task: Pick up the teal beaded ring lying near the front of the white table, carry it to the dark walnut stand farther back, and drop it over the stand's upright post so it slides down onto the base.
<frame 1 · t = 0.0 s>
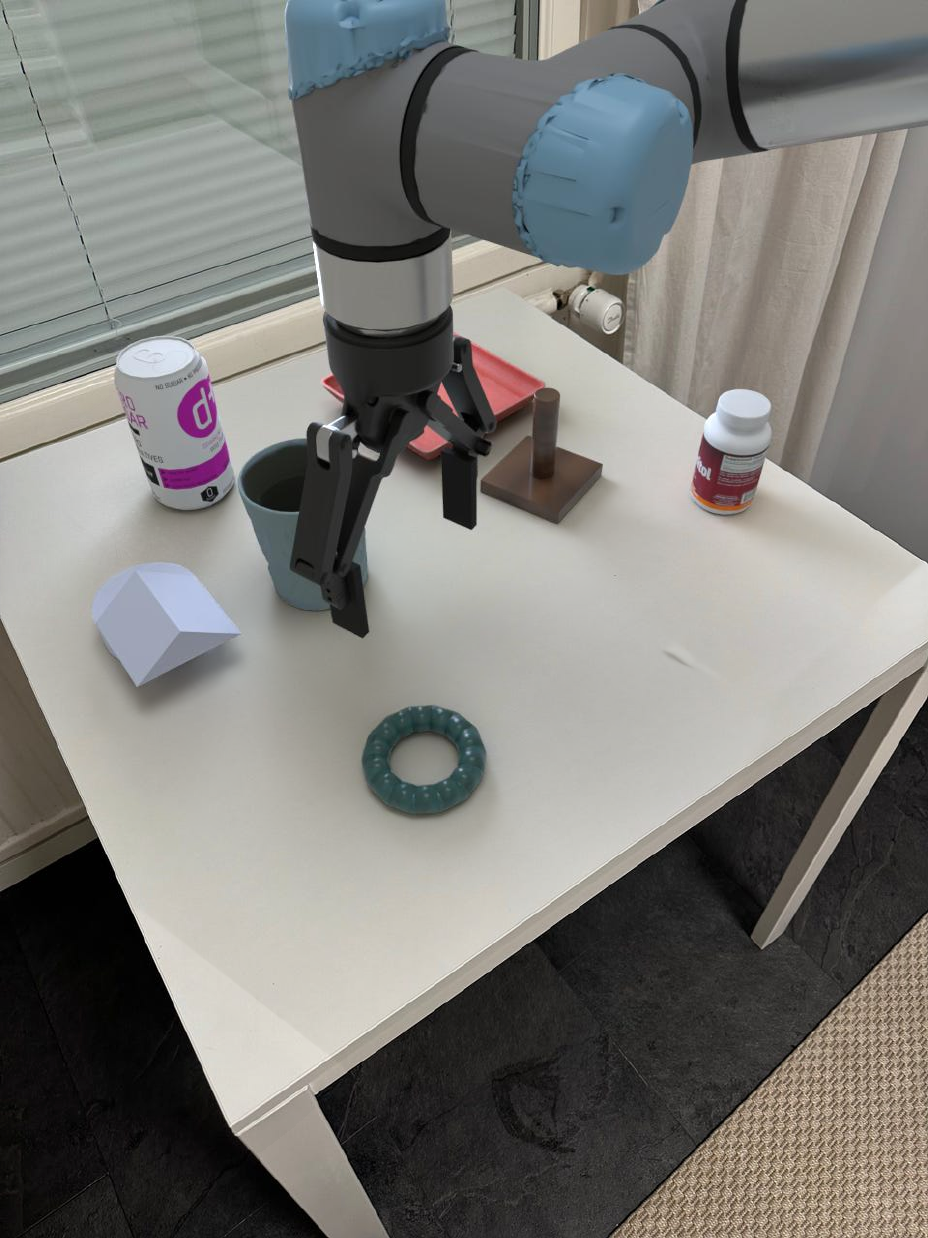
hand: (408, 571, 67), 11 cm above the table, tool pointing down, fingers open, 13 cm apart
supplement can: (195, 489, 91), on the table
wedge on round base: (167, 640, 77), on the table
stand: (541, 483, 90), on the table
blue-grey embossed cup: (318, 579, 82), on the table
teal beaded ring: (424, 757, 67), point 1 cm above the table
plant saucer: (434, 408, 100), on the table
pill bottle: (720, 498, 89), on the table
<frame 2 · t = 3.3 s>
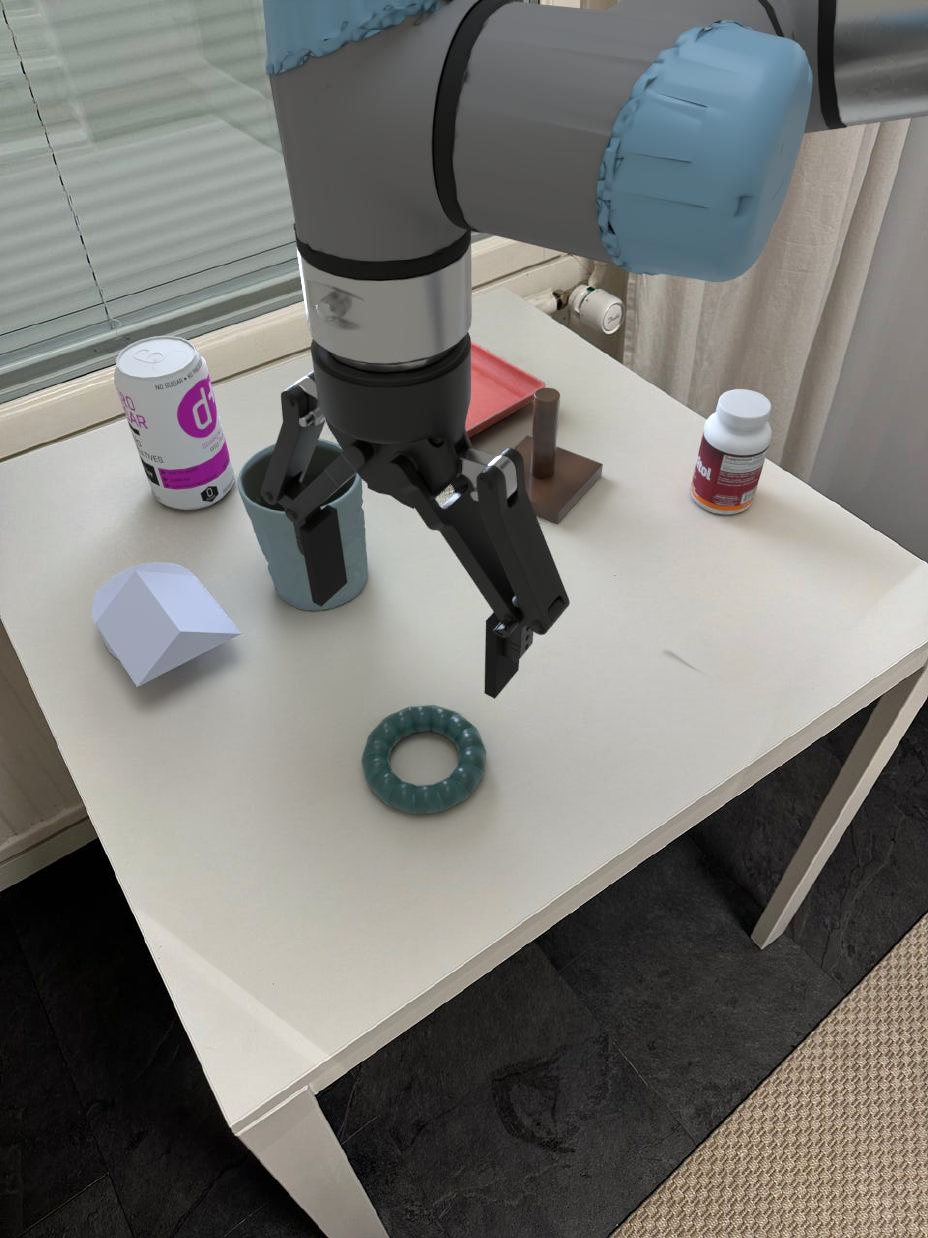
hand: (412, 635, 57), 15 cm above the table, tool pointing down, fingers open, 13 cm apart
nothing on the table moved.
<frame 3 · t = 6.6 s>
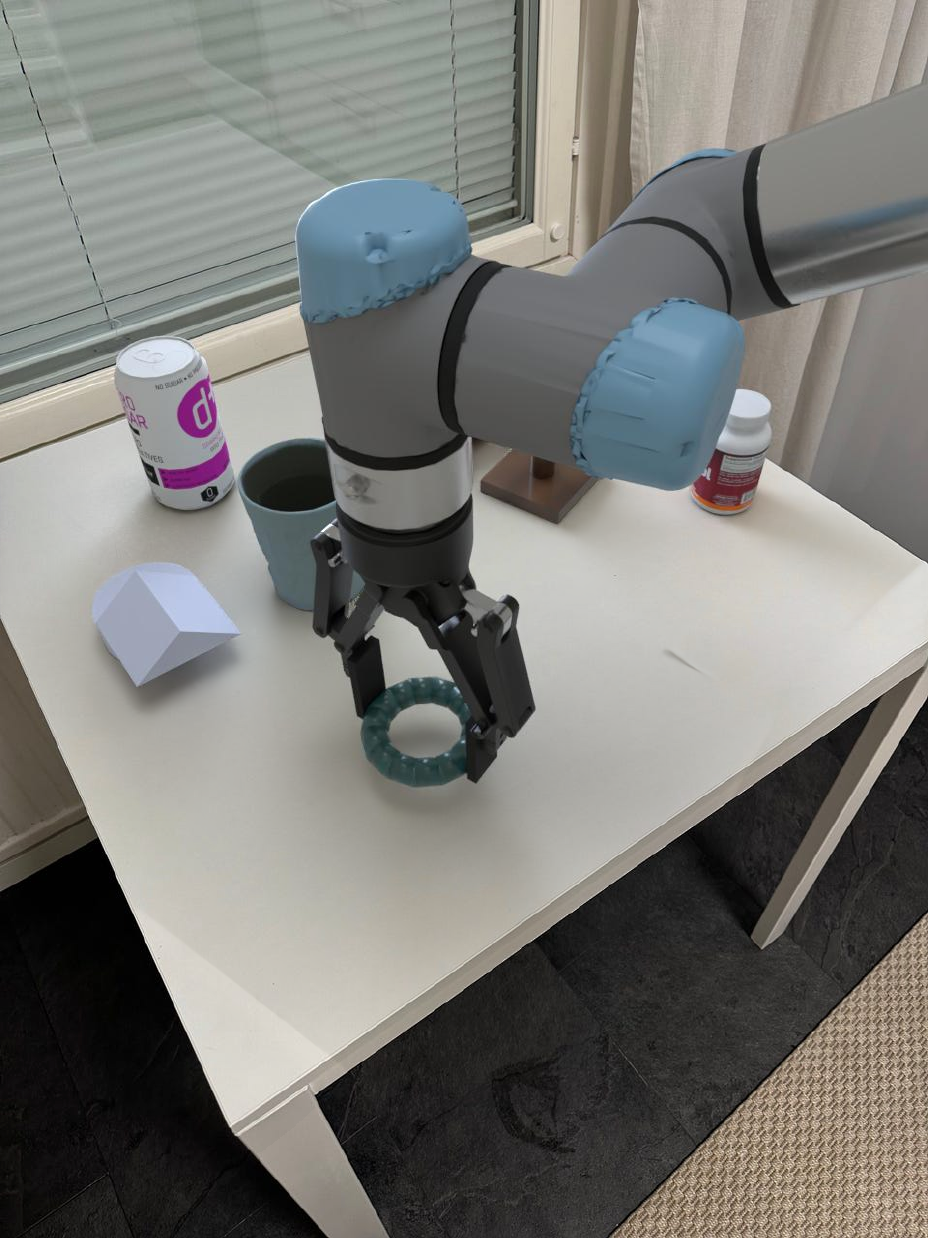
hand: (425, 735, 65), 4 cm above the table, tool pointing down, fingers closed on teal beaded ring, 9 cm apart
teal beaded ring: (425, 729, 64), point 5 cm above the table, touching gripper
everything else where it was.
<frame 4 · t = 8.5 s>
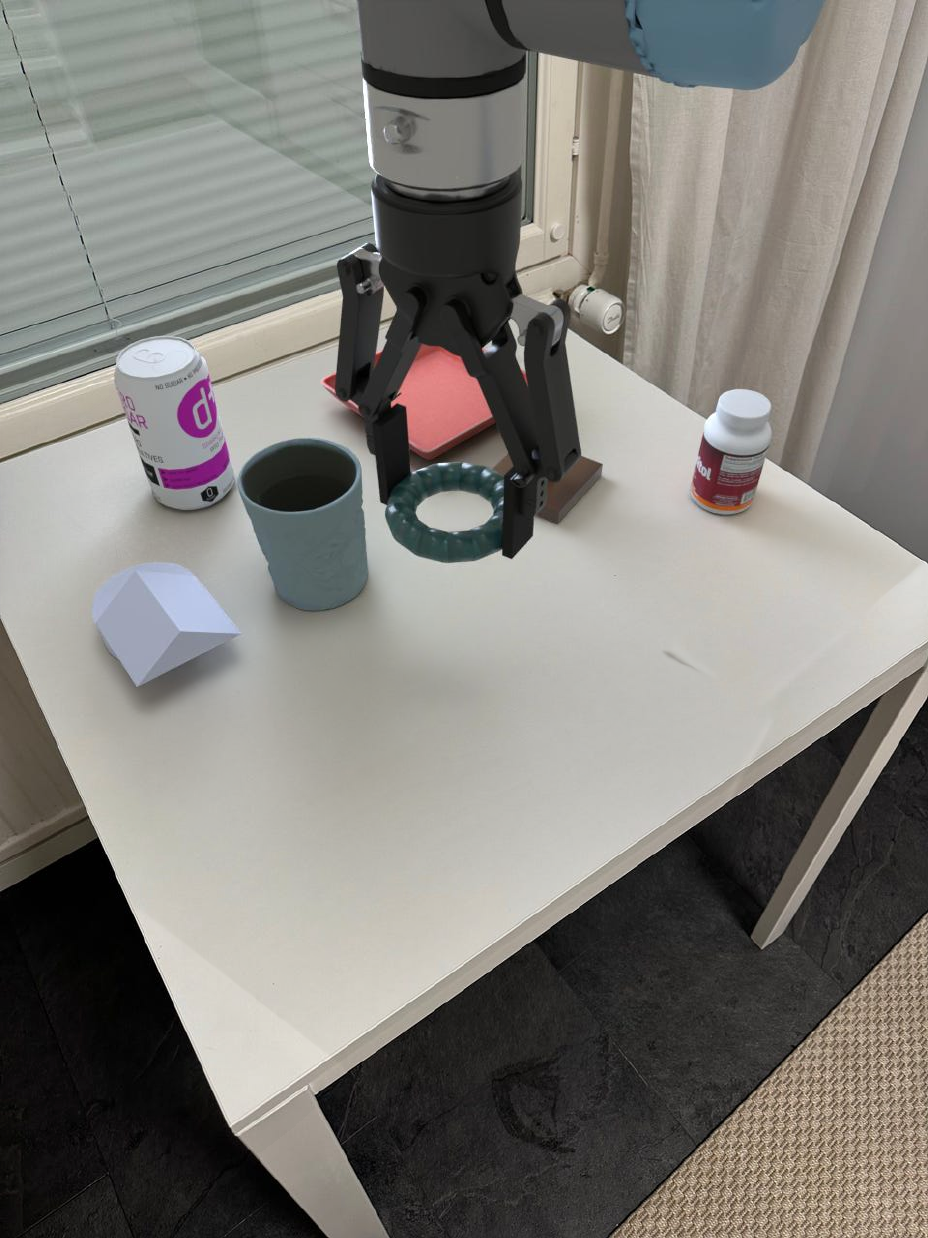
hand: (454, 518, 60), 18 cm above the table, tool pointing down, fingers closed on teal beaded ring, 9 cm apart
teal beaded ring: (454, 510, 60), point 18 cm above the table, touching gripper
everything else where it was.
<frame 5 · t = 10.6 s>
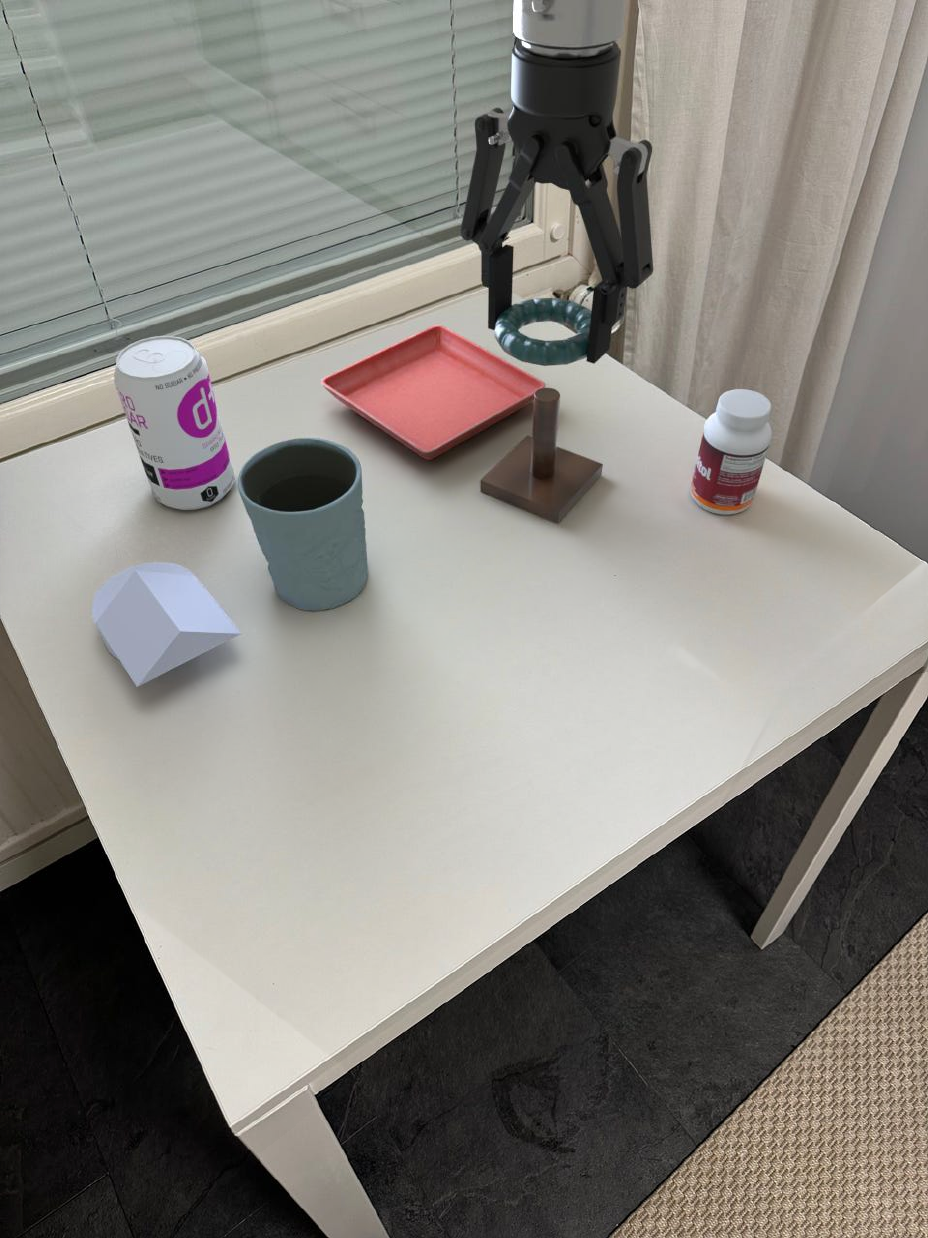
hand: (547, 338, 78), 17 cm above the table, tool pointing down, fingers closed on teal beaded ring, 9 cm apart
teal beaded ring: (548, 330, 77), point 17 cm above the table, touching gripper
everything else where it was.
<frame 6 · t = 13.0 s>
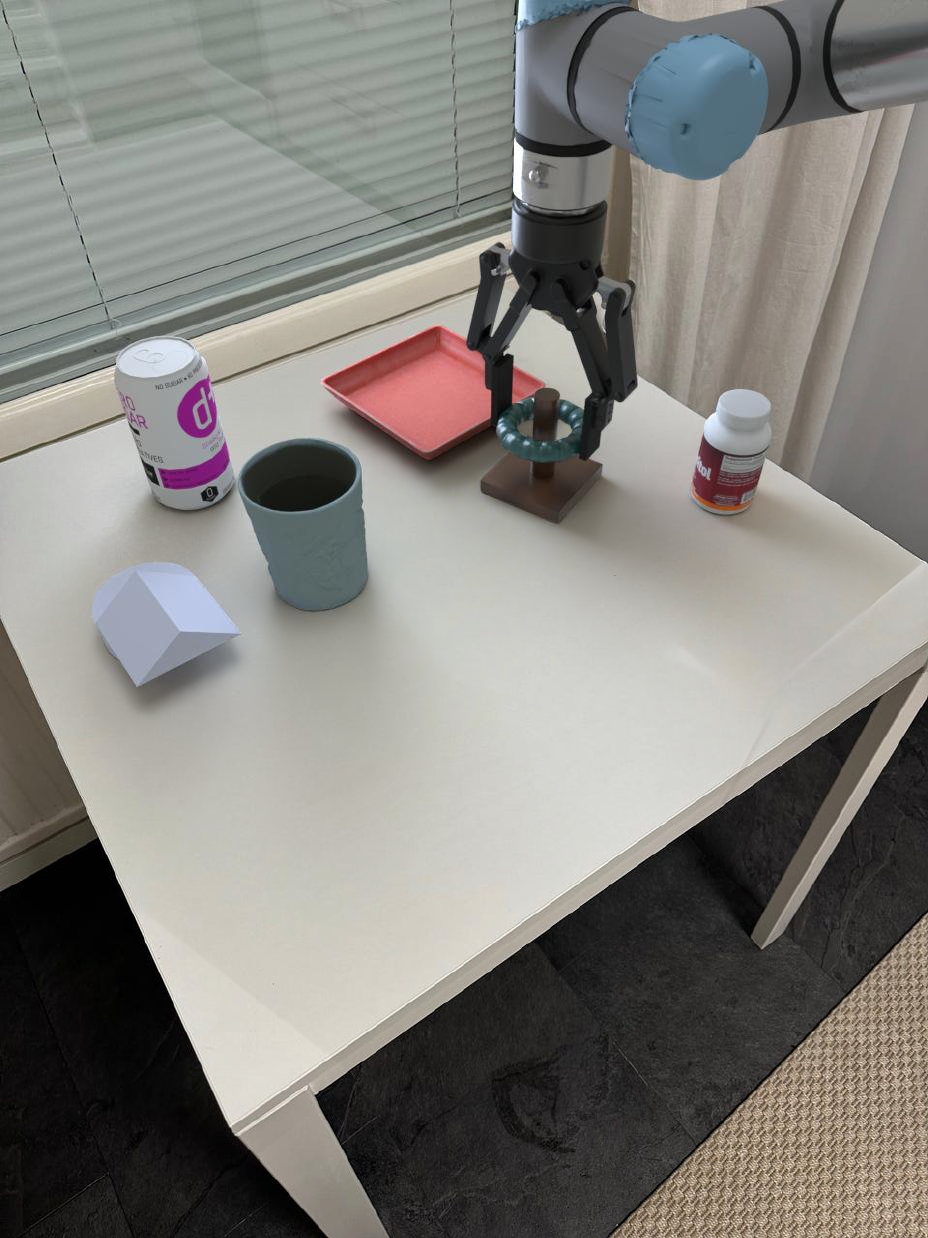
hand: (544, 435, 86), 6 cm above the table, tool pointing down, fingers closed on teal beaded ring, 9 cm apart
teal beaded ring: (544, 428, 86), point 7 cm above the table, touching gripper
everything else where it was.
when the fingers open (2 cm above the table, at t = 14.9 s): teal beaded ring stays where it is, resting on stand.
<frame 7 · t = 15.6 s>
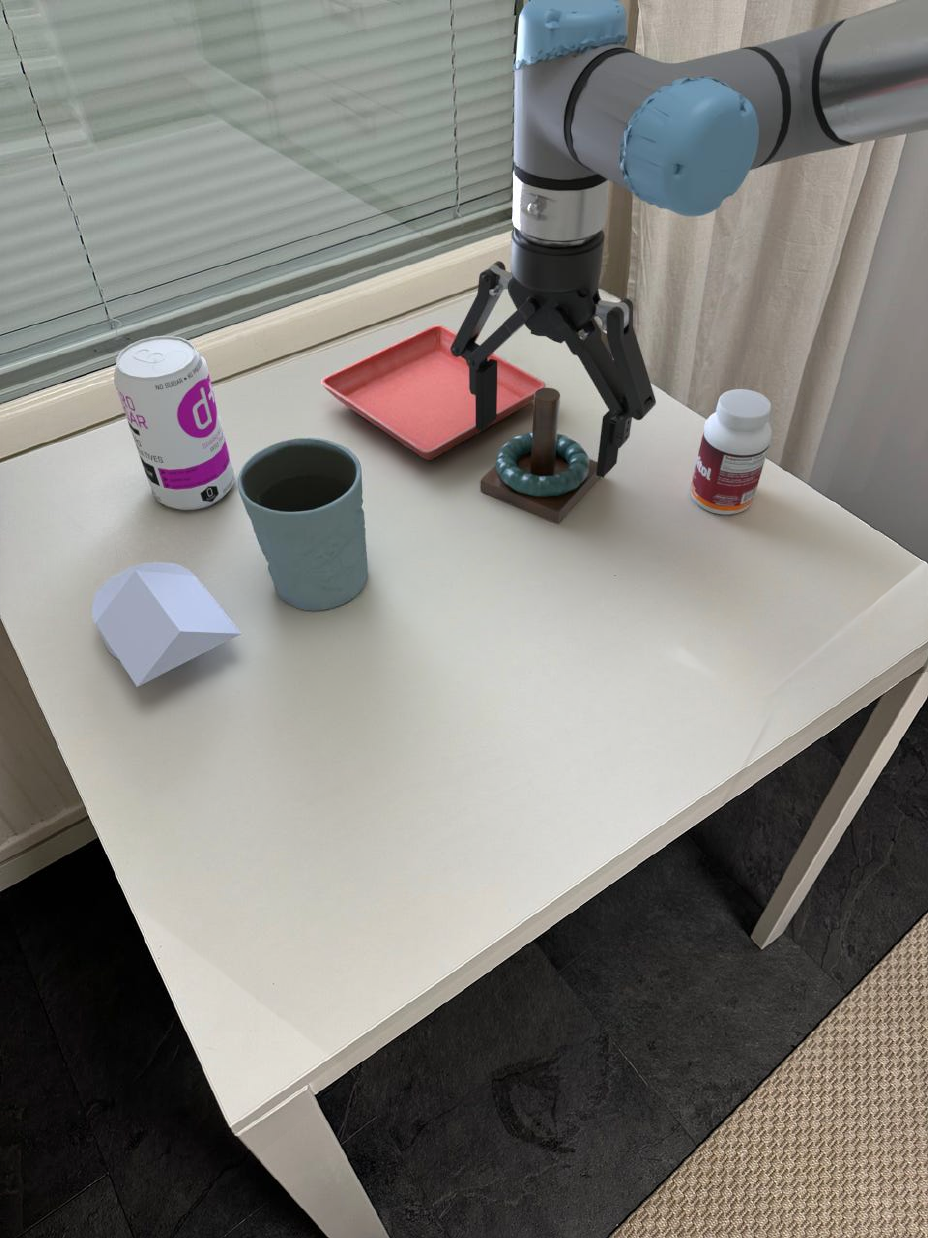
hand: (544, 445, 87), 5 cm above the table, tool pointing down, fingers open, 13 cm apart
teal beaded ring: (542, 463, 89), point 2 cm above the table, touching stand
everything else where it was.
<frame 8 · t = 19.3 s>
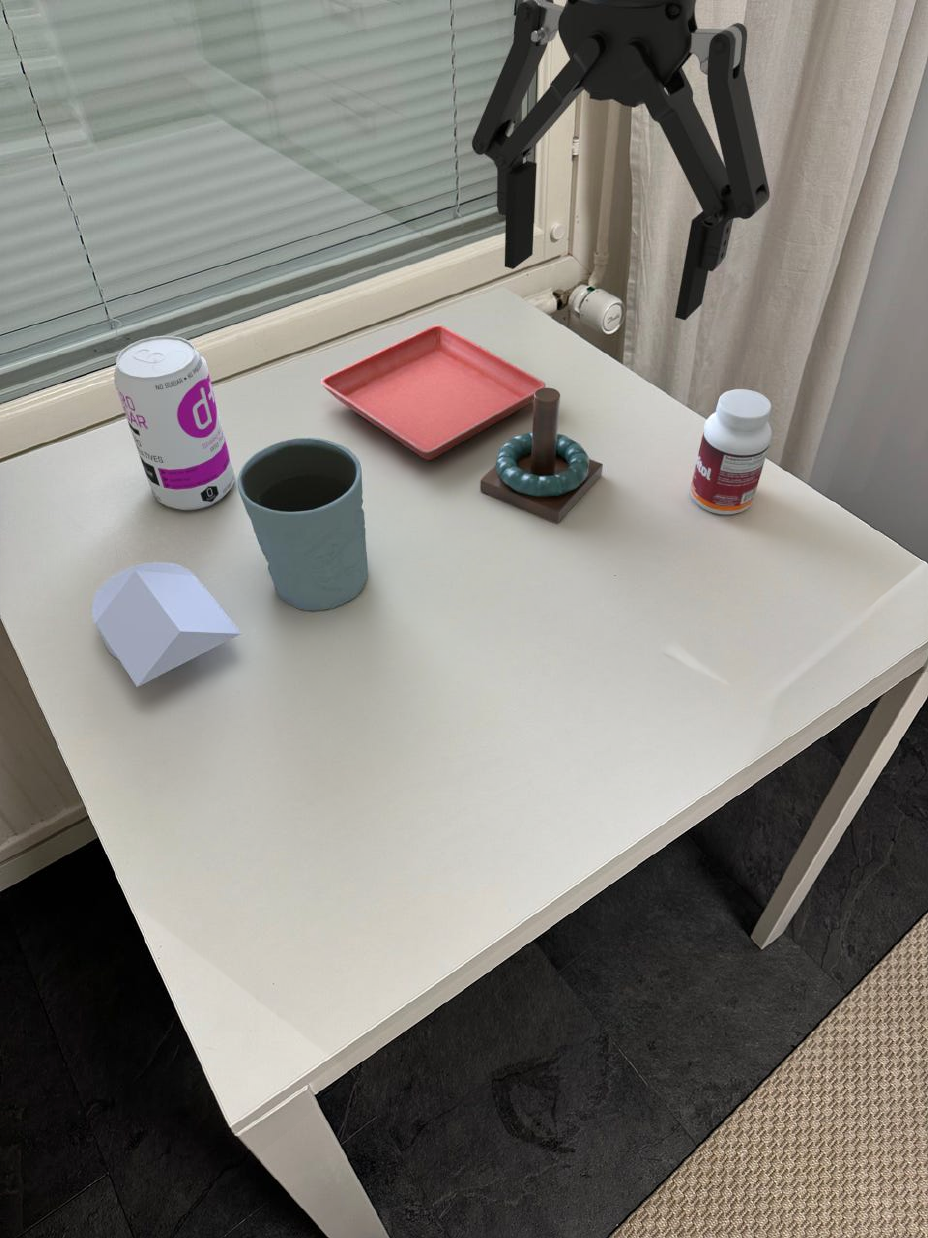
hand: (599, 285, 63), 27 cm above the table, tool pointing down, fingers open, 13 cm apart
nothing on the table moved.
at the end: teal beaded ring 0.1 cm from the stand (horizontally); teal beaded ring point 2.5 cm above the table; the gripper is holding nothing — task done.
